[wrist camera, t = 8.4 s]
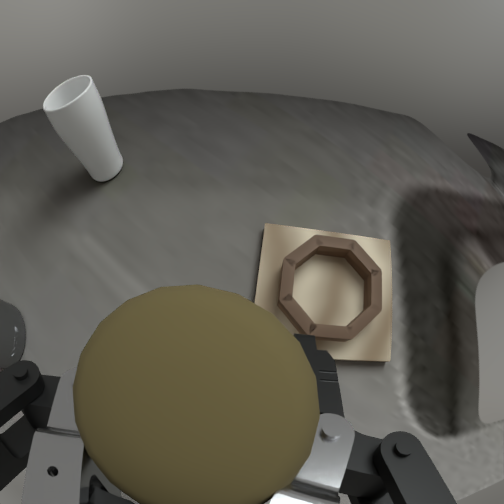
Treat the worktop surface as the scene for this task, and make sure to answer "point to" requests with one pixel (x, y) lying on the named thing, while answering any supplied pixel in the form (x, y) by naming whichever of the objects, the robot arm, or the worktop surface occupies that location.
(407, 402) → the worktop surface
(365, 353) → the board
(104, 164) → the drinking glass
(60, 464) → the robot arm
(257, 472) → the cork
